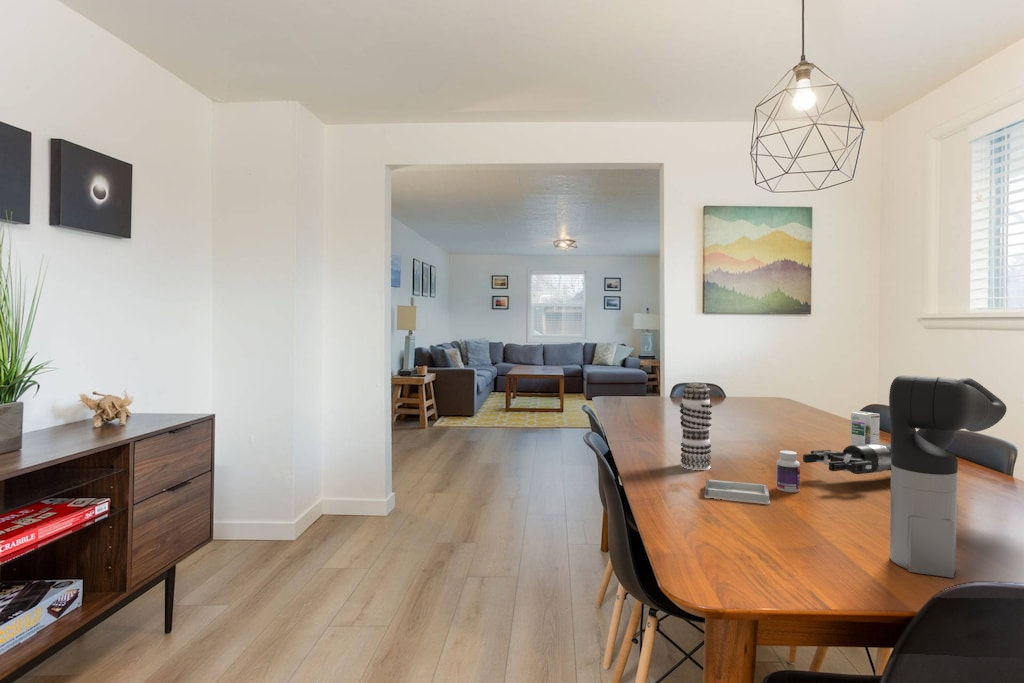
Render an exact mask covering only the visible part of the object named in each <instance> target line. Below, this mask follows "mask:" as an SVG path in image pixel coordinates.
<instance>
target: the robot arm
mask: <svg viewBox="0 0 1024 683" xmlns="http://www.w3.org/2000/svg"><path fill="white" fill-rule="evenodd" d="M888 400H889V401H888V403H889V406H888V408H889V423H890V424H889V425H890V443H881V444H880V443H879V444H863V445H851V444H850V445H847V446H846V447H845V448H844V449H843V450H842V451H837V450H836V451H832V450H830V449H819V450H818V449H817V450H816V449H815V450H810V453H804V454H803V455H802V461H803V463H806V464H808V463H809V464H811V463H823V464H824V465H826V466H828V471H830V472H840V471H841V472H842V471H843V472H845V473H847V472H850V473H852V474H854V475H861V474H862V475H866V474H875V473H882V472H885V471H890V507H889V509H890V510H889V512H890V513H889V514H890V516H889V517H890V518H889V523H890V526H889V557H890V560H891V562H893V563H894V564H896V565H898V566H900V567H902V568H904V569H906V570H907V571H908V572H910V573H913V574H923V575H929V576H937V577H944V578H954V576H955V573H956V572H957V519H958V517H957V516H958V515H957V513H958V512H957V511H958V506H957V505H958V504H957V503H958V502H957V501H958V472H959V471H958V468H959V467H958V465H959V464H958V463H959V462H958V458H957V455H955V454H954V453H952V451H950V450H946V449H948V447H950V446H951V445H952V443H953V441H954V439H955V435H956V434H955V432H958V431H961V430H967V431H969V432H974V433H975V432H977V433H978V432H981V431H985V430H987V429H990V428H992V427H993V426H995V425H997V423H999V422H1000V421H1001V420H1002V419H1003V418H1004V417H1005V415H1006V413H1007V406H1006V404H1005V403H1004V402H1003V401H1002V400H1001V399H1000V398H999V397H998V396H996V395H995V394H994V393H992V392H991V391H990V390H989V389H988V388H986V387H985V386H983V385H982V384H981V383H979V382H978V381H976V380H974V379H973V378H970V377H964V378H960V379H956V378H951V377H945V376H944V377H942V376H941V377H939V376H922V375H920V376H919V375H898V376H897V377H894V379H893V381H892V382H891V384H890V387H889V396H888ZM916 429H917V430H916Z"/></svg>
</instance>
